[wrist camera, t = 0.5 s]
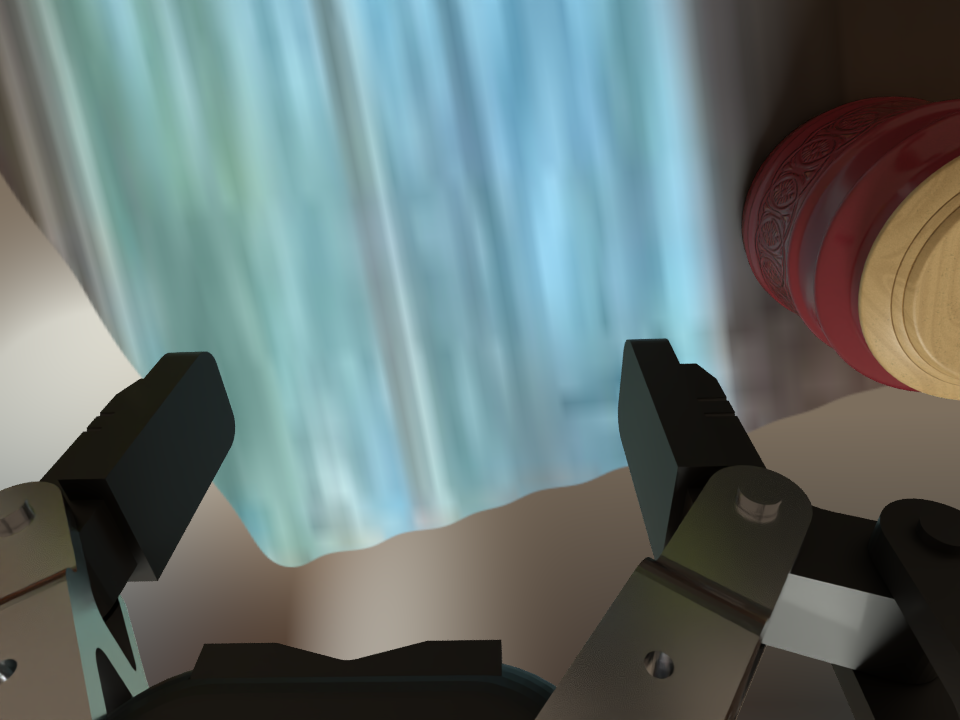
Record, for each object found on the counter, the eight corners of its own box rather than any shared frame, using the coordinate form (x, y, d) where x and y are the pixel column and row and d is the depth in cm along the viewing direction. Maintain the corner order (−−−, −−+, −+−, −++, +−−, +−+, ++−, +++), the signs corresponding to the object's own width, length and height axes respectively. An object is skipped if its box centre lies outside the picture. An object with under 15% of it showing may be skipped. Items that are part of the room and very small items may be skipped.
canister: (776, 80, 35) (984, 75, 19) (1003, 112, 34) (1414, 136, 18) (710, 294, 40) (828, 434, 24) (906, 324, 40) (1157, 485, 24)
